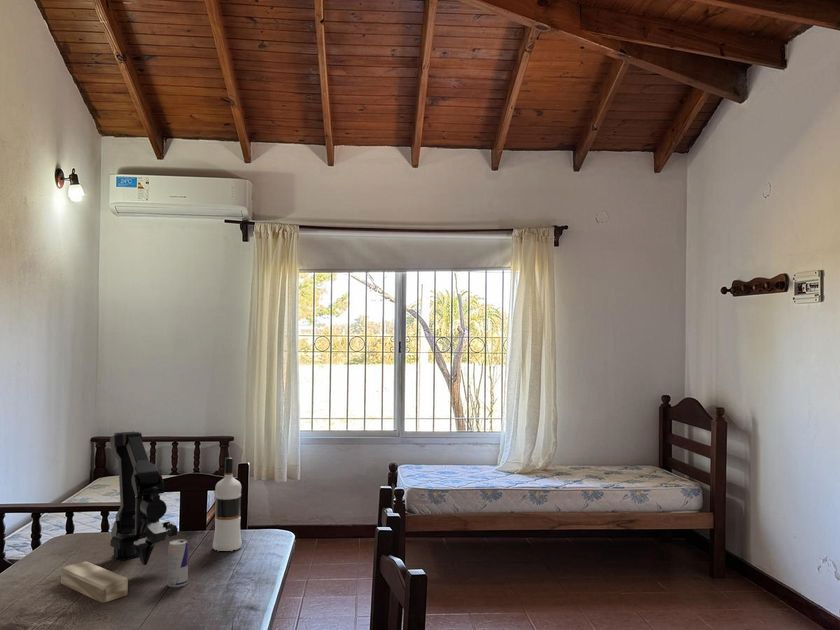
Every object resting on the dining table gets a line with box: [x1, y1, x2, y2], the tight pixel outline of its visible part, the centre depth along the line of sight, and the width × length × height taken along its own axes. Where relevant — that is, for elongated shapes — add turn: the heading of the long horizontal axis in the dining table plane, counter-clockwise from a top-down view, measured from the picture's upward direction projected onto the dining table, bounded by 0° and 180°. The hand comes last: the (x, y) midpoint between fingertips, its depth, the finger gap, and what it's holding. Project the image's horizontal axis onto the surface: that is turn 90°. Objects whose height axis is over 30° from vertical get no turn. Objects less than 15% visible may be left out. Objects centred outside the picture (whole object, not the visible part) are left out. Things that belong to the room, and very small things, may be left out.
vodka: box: [212, 456, 243, 552], centre depth 227 cm, size 9×9×30 cm
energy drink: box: [167, 538, 189, 588], centre depth 194 cm, size 5×5×12 cm
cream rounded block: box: [60, 560, 129, 604], centre depth 190 cm, size 7×22×4 cm, turn 54°
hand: (144, 564), depth 202 cm, fingers closed
